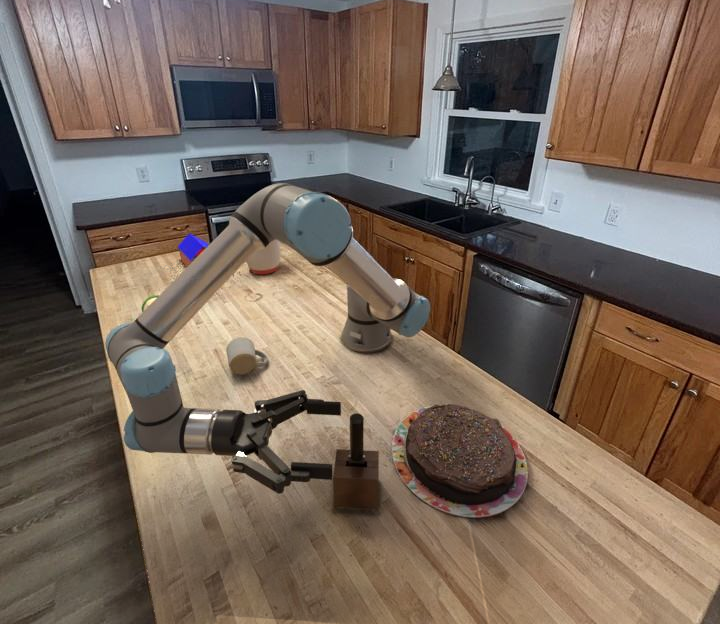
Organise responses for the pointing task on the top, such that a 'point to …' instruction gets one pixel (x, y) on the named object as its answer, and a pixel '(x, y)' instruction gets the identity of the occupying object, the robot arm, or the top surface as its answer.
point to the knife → (356, 441)
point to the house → (191, 249)
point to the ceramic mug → (243, 356)
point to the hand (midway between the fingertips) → (337, 437)
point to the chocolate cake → (460, 461)
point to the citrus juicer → (265, 259)
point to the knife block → (356, 481)
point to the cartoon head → (148, 302)
